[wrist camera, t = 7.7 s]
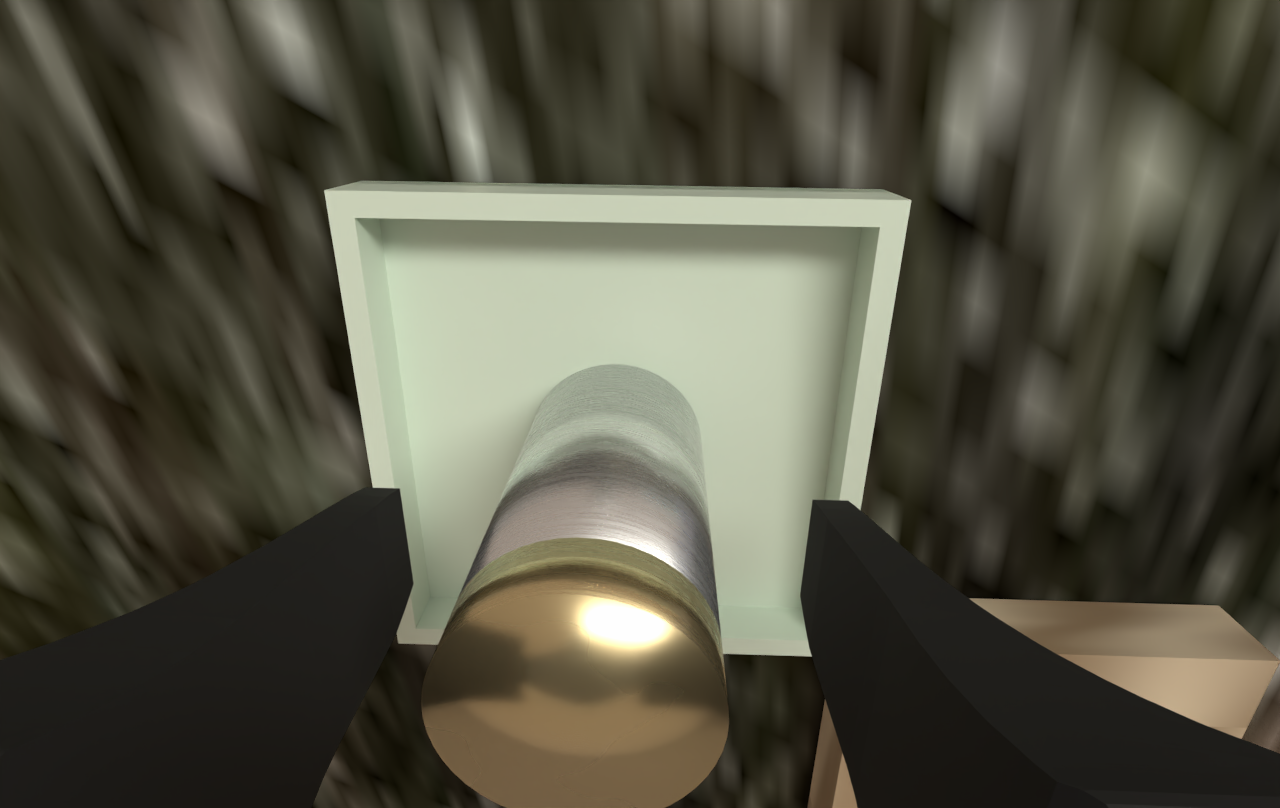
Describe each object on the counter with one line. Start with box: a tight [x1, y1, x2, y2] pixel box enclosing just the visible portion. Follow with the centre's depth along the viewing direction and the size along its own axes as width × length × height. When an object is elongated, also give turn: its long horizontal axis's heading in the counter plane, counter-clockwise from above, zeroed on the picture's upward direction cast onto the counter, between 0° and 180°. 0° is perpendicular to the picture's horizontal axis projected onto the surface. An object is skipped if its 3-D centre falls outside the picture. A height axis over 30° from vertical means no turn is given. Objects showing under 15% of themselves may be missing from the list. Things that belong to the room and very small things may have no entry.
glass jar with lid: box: [421, 364, 729, 808], centre depth 13 cm, size 4×4×8 cm
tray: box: [324, 181, 911, 656], centre depth 16 cm, size 11×11×2 cm
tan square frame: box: [807, 598, 1280, 808], centre depth 20 cm, size 10×10×2 cm
